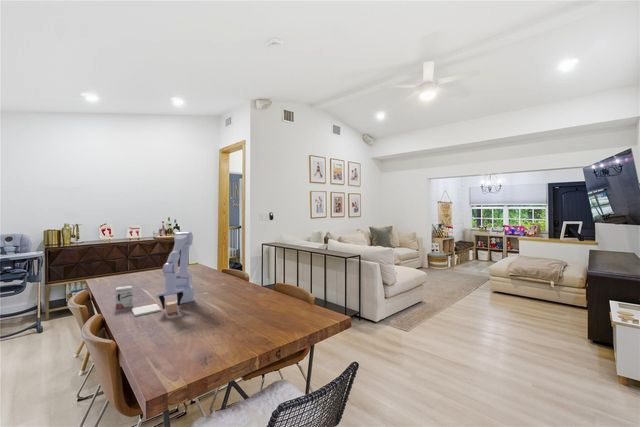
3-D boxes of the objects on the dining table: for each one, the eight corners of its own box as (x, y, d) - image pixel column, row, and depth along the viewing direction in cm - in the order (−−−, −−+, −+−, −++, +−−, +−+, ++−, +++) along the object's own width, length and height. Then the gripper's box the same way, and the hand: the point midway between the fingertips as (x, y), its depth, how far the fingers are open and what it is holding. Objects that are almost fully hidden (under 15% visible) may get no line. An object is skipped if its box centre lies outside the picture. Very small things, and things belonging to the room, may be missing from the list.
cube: (175, 309, 173) (174, 300, 173) (177, 311, 169) (176, 303, 169) (165, 311, 170) (165, 302, 170) (167, 313, 166) (167, 305, 166)
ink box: (115, 309, 174) (115, 289, 174) (116, 306, 178) (115, 287, 178) (132, 306, 179) (132, 286, 179) (132, 303, 183) (132, 285, 183)
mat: (156, 305, 180) (156, 303, 180) (161, 311, 170) (161, 309, 170) (131, 310, 172) (131, 308, 172) (134, 316, 162) (134, 314, 162)
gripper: (157, 287, 161) (158, 312, 162) (186, 282, 170) (186, 306, 171) (155, 284, 167) (156, 308, 167) (182, 280, 176) (183, 303, 176)
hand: (171, 307), depth 169 cm, fingers open, 7 cm apart
